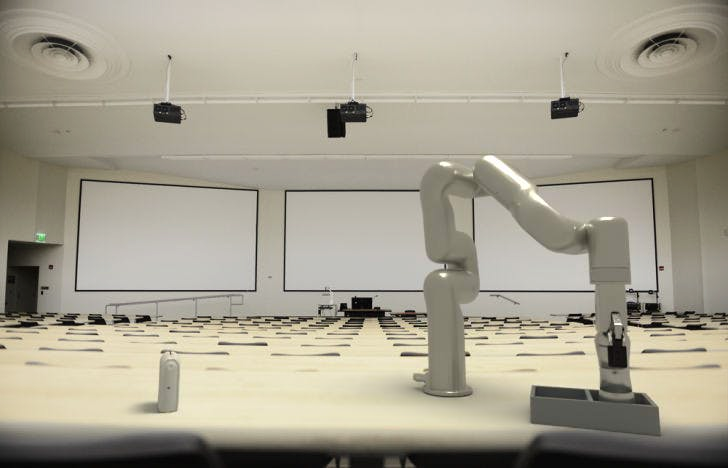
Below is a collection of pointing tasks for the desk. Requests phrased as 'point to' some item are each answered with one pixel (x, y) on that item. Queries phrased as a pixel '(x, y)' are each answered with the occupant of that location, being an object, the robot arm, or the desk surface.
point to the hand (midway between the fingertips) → (614, 363)
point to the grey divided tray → (593, 410)
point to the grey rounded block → (169, 382)
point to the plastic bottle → (613, 374)
